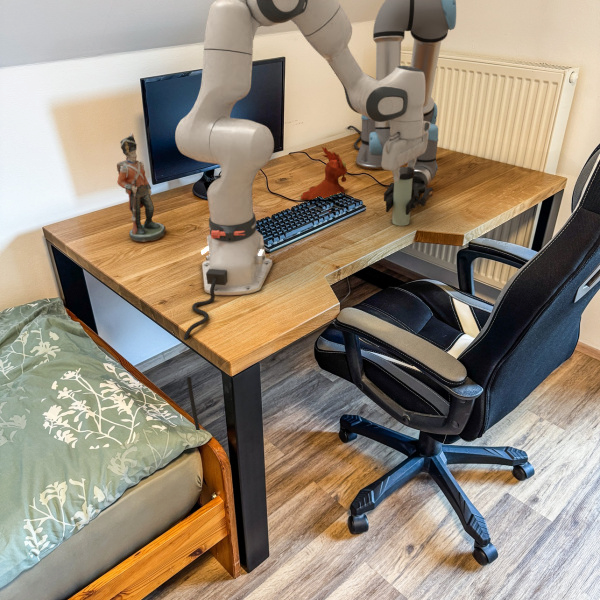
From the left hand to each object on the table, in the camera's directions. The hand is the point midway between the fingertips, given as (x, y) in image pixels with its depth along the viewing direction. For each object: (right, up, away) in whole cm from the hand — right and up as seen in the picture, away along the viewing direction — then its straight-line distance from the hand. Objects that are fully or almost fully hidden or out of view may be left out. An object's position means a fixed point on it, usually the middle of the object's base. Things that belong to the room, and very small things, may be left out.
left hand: (403, 176), depth 163 cm
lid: (0, +1, -1) cm, 2 cm away
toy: (-22, 0, +29) cm, 36 cm away
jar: (+1, -12, +8) cm, 14 cm away
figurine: (-76, -16, +6) cm, 78 cm away
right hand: (-2, -9, 0) cm, 10 cm away
